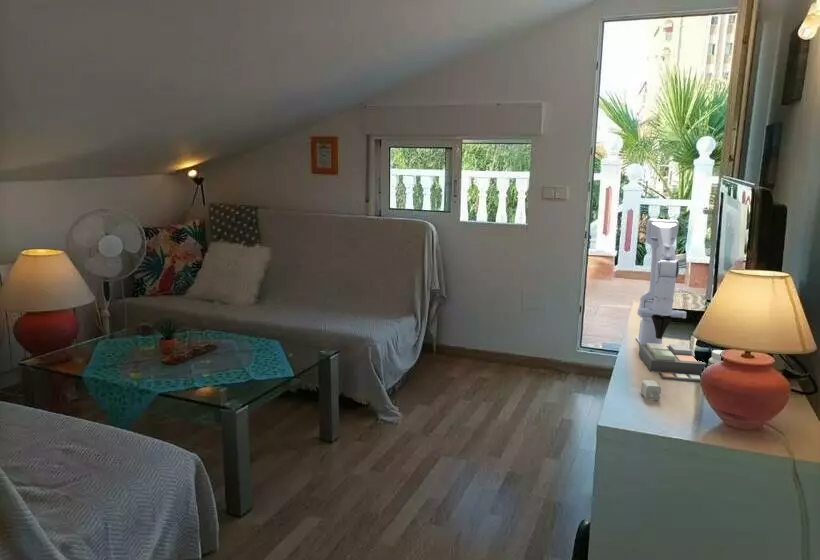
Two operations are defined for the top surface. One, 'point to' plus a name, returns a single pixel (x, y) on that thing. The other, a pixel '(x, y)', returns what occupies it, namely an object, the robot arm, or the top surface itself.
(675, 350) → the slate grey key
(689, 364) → the keyguard pad
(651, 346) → the ivory key
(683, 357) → the terracotta key
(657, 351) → the sage key
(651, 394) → the usb wall charger
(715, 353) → the pill bottle
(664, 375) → the strip
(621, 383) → the top surface
